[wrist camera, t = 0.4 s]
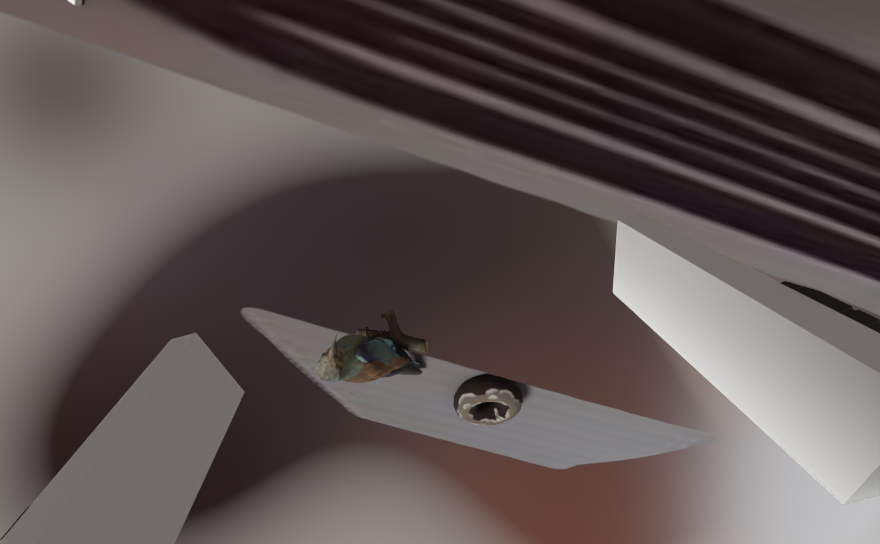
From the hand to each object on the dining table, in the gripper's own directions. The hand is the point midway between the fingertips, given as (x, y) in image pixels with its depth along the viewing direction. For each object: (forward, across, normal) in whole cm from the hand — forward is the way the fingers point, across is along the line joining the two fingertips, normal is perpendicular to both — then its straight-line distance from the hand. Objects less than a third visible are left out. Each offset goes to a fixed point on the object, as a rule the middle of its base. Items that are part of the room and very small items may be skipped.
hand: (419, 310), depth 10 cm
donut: (+30, +4, -42) cm, 52 cm away
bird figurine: (+29, -7, -22) cm, 37 cm away
